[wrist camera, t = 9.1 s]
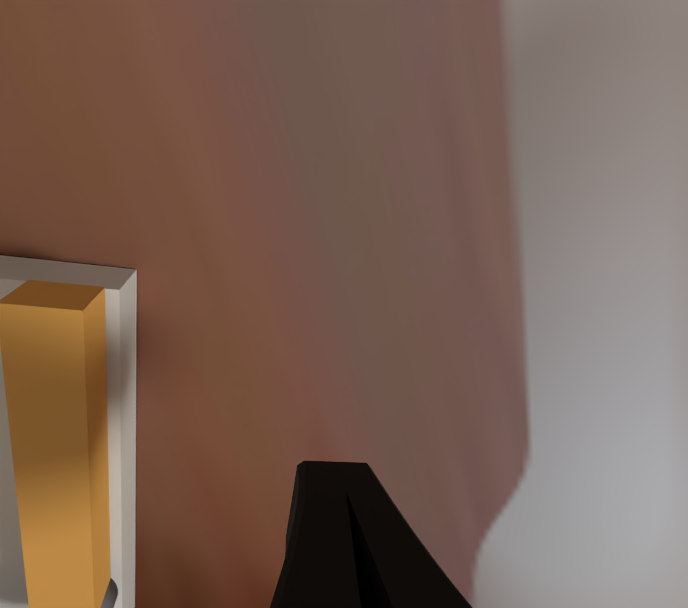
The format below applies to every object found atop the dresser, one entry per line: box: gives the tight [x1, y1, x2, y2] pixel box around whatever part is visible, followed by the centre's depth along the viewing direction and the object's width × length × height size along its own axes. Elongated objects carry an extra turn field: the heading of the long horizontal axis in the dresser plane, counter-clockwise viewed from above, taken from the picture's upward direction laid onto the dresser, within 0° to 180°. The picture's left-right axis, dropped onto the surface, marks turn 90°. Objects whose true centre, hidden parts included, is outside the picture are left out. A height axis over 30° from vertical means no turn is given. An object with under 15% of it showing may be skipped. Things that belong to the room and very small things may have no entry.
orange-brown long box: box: [0, 280, 118, 608], centre depth 12 cm, size 2×11×2 cm, turn 171°
